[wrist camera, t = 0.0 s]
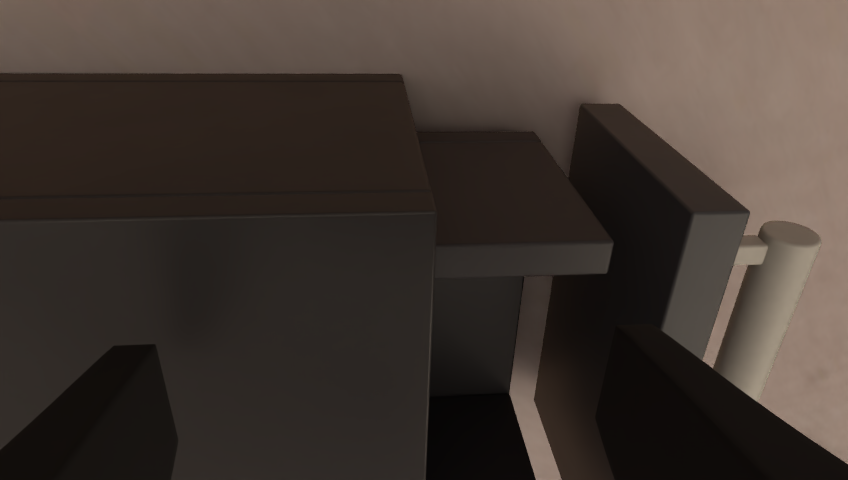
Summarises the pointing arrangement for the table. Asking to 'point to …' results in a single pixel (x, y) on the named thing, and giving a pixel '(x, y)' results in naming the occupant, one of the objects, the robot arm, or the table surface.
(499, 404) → the drawer
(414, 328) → the box
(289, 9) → the table surface
